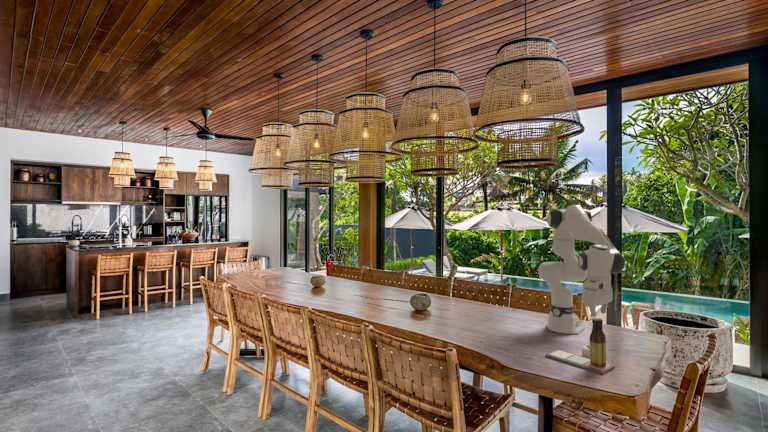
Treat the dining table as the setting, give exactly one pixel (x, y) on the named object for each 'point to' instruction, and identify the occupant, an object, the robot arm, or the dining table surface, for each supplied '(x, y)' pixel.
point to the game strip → (578, 361)
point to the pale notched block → (586, 351)
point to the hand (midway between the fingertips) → (598, 314)
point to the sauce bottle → (597, 344)
